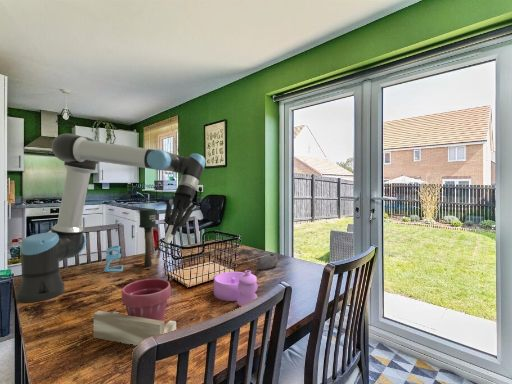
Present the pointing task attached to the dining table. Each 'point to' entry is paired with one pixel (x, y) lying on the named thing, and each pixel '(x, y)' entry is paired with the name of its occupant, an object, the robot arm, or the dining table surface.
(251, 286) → the container set
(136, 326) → the corner stop
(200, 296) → the dining table surface
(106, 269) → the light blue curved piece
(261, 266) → the perforated stone tool
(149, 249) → the potato masher grenade
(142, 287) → the plant pot
